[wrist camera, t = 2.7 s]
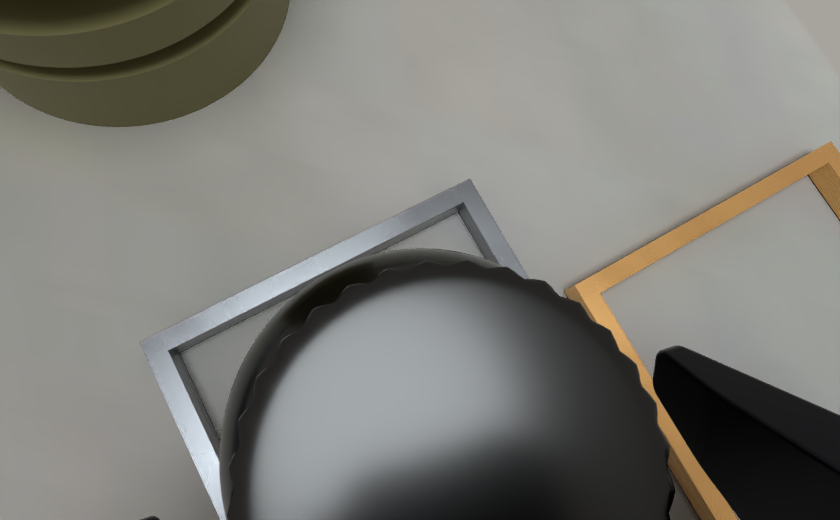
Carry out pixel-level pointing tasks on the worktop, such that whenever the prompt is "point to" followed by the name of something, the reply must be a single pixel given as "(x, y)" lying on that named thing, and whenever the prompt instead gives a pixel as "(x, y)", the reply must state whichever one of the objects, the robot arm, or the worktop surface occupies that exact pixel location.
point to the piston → (132, 55)
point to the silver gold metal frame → (824, 165)
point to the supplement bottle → (439, 403)
